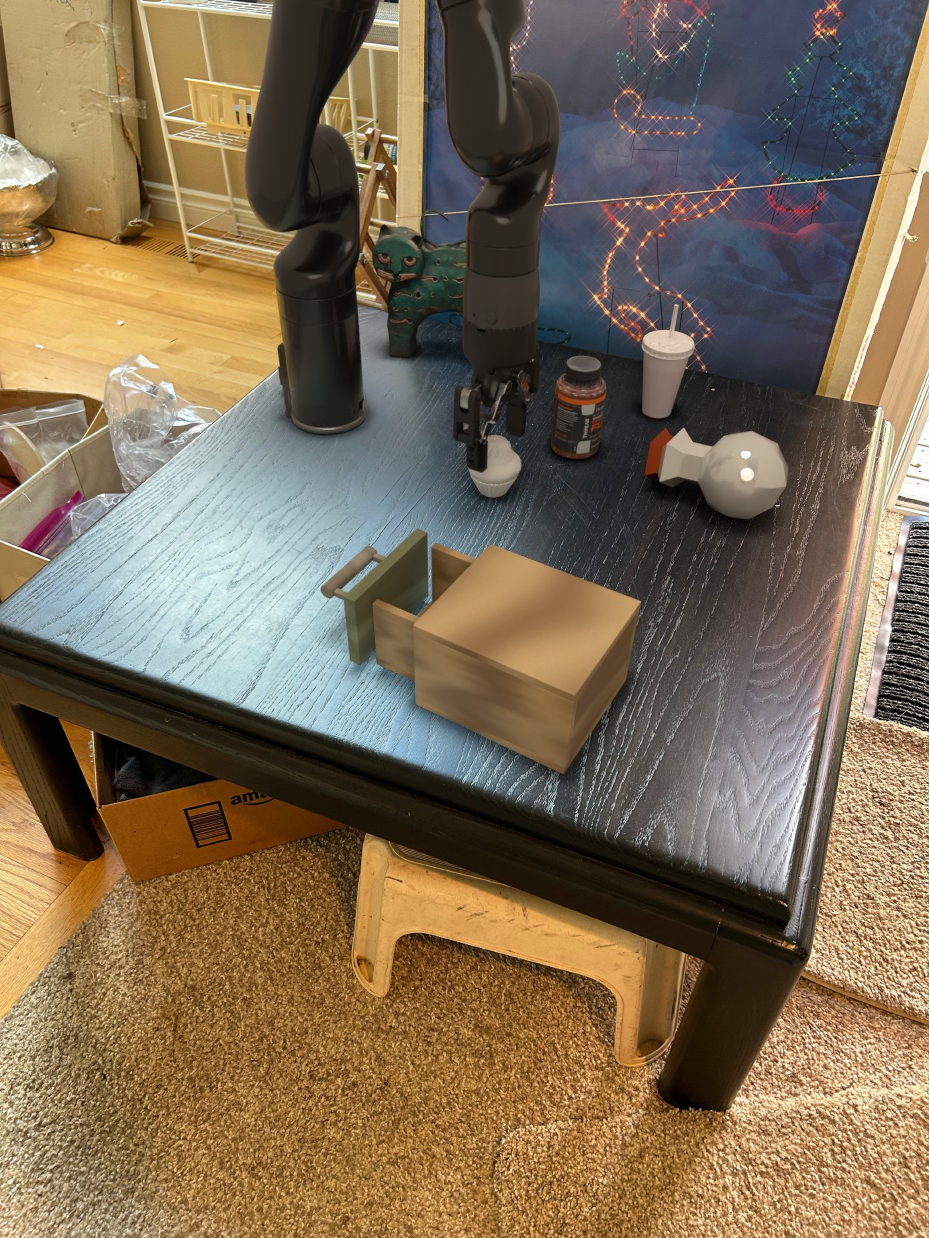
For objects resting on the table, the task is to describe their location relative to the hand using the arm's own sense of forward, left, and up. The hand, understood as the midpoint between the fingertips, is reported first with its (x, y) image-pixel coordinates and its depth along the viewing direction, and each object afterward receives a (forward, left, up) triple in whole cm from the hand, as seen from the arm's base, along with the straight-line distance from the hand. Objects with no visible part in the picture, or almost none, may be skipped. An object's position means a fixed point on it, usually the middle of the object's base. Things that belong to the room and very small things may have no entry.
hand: (496, 451), depth 100 cm
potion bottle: (+22, +11, -6) cm, 25 cm away
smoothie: (+9, +27, -6) cm, 29 cm away
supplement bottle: (+4, +13, -6) cm, 15 cm away
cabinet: (+18, -26, -5) cm, 32 cm away
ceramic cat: (-22, +26, -6) cm, 35 cm away
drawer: (+7, -26, -4) cm, 27 cm away
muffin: (0, 0, -6) cm, 6 cm away
